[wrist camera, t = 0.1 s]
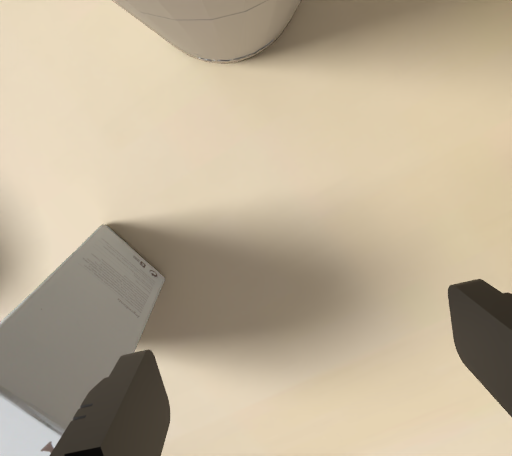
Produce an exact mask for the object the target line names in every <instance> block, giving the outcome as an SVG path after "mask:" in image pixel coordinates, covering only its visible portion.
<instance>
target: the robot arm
mask: <svg viewBox="0 0 512 456" xmlns="http://www.w3.org/2000/svg"><path fill="white" fill-rule="evenodd" d="M112 1H113V2H115V3H116V4H118V5H119V6H120V7H122V8H123V9H124V10H126V11H127V12H128V13H130V14H131V15H132V16H134V17H135V18H136V19H138V20H139V21H141V22H142V23H143V24H145V25H146V26H147V27H149V28H150V29H151V30H153V31H154V32H155V33H157V34H158V35H159V36H161V37H162V38H163V39H165V40H166V41H167V42H169V43H170V44H172V45H173V46H174V47H176V48H177V49H179V50H181V51H182V52H184V53H186V54H187V55H189V56H191V57H194V58H197V59H200V60H203V61H206V62H214V63H231V62H239V61H242V60H244V59H247V58H250V57H253V56H255V55H256V54H258V53H260V52H261V51H263V50H264V49H266V48H267V47H269V46H270V45H271V44H272V43H273V42H274V41H275V40H276V39H277V38H278V37H279V36H280V35H281V33H282V32H283V30H284V29H285V27H286V26H287V24H288V23H289V21H290V20H291V18H292V16H293V14H294V12H295V10H296V9H297V7H298V5H299V3H300V2H301V0H112ZM448 299H449V307H450V314H451V322H452V330H453V337H454V343H455V346H456V349H457V352H458V354H459V356H460V358H461V360H462V362H463V363H464V364H465V366H466V367H467V368H468V369H469V370H470V371H471V372H472V373H473V374H474V376H475V377H476V378H477V379H478V380H479V381H480V382H481V383H482V385H483V386H484V387H485V388H486V389H487V390H488V391H489V392H490V393H491V395H492V396H493V397H494V398H495V399H496V400H497V401H498V402H499V403H500V405H501V406H502V407H503V408H504V409H505V410H506V411H507V412H508V414H509V415H510V416H511V417H512V294H511V293H501V292H500V291H498V290H497V289H495V288H494V287H492V286H491V285H489V284H488V283H486V282H485V281H483V280H481V279H477V280H472V281H468V282H463V283H458V284H454V285H450V286H449V288H448ZM169 423H170V406H169V401H168V397H167V394H166V391H165V388H164V385H163V381H162V378H161V375H160V372H159V369H158V366H157V363H156V360H155V357H154V355H153V353H152V351H151V350H145V351H140V352H135V353H131V354H126V355H122V356H121V357H120V358H119V360H118V361H117V363H116V365H115V367H114V368H113V370H112V372H111V374H110V375H109V377H106V378H104V379H102V380H101V381H100V382H99V383H98V384H97V385H96V386H95V387H94V388H93V389H91V390H90V391H89V393H88V394H87V396H86V397H85V399H84V401H83V402H82V404H81V406H80V409H78V410H77V412H76V414H75V415H74V417H73V421H71V422H70V423H69V425H68V427H67V428H66V430H65V431H64V433H63V435H62V436H61V438H60V440H59V441H58V443H57V444H56V446H55V448H54V449H53V451H52V452H51V454H50V456H161V452H162V449H163V445H164V442H165V438H166V435H167V431H168V427H169Z"/></svg>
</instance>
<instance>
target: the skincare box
mask: <svg viewBox="0 0 512 456" xmlns="http://www.w3.org/2000/svg"><path fill="white" fill-rule="evenodd" d="M164 281H165V278H164V277H163V276H162V275H161V274H160V273H159V272H158V271H157V270H156V269H155V268H153V267H152V266H151V265H150V264H149V263H148V262H146V261H145V260H144V259H143V258H142V257H141V256H140V255H139V254H138V253H137V252H135V251H134V250H133V249H132V248H131V247H130V246H129V245H128V244H127V243H126V242H125V241H124V240H122V239H121V238H120V237H119V236H118V235H117V234H116V233H115V232H113V231H112V230H111V229H110V228H109V227H108V226H107V225H101V226H100V227H98V229H97V230H96V231H95V232H94V233H93V234H92V235H91V236H90V237H89V238H88V239H87V240H86V241H85V242H84V243H83V244H82V245H81V246H80V247H79V248H78V249H77V250H76V251H75V252H73V253H72V254H71V255H70V256H69V257H68V258H67V259H66V260H65V261H64V262H63V263H62V264H61V265H60V266H59V267H58V268H57V269H56V270H55V271H54V272H53V273H52V274H51V275H50V276H48V277H47V278H46V279H45V280H44V281H43V282H42V283H41V284H40V285H39V286H38V287H37V288H36V289H35V290H34V291H33V292H32V293H31V294H30V295H29V296H28V297H27V298H26V299H24V300H23V301H22V302H21V303H20V304H19V305H18V306H17V307H16V308H15V309H14V310H13V311H12V312H11V313H10V314H8V315H7V316H6V317H5V318H4V319H3V320H2V321H1V322H0V456H50V454H51V452H52V451H53V449H54V448H55V446H56V444H57V443H58V441H59V440H60V438H61V436H62V435H63V433H64V431H65V430H66V428H67V427H68V425H69V423H70V422H71V421H73V417H74V415H75V414H76V412H77V410H78V409H80V406H81V404H82V402H83V401H84V399H85V397H86V396H87V394H88V393H89V391H90V390H91V389H93V388H94V387H95V386H96V385H97V384H98V383H99V382H100V381H101V380H102V379H104V378H106V377H109V375H110V374H111V372H112V370H113V368H114V367H115V365H116V363H117V361H118V360H119V358H120V357H121V356H122V355H126V354H131V353H134V351H135V349H136V347H137V345H138V342H139V340H140V338H141V335H142V333H143V331H144V328H145V326H146V323H147V321H148V319H149V316H150V314H151V312H152V309H153V307H154V305H155V302H156V300H157V297H158V295H159V293H160V290H161V288H162V286H163V283H164Z"/></svg>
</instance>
